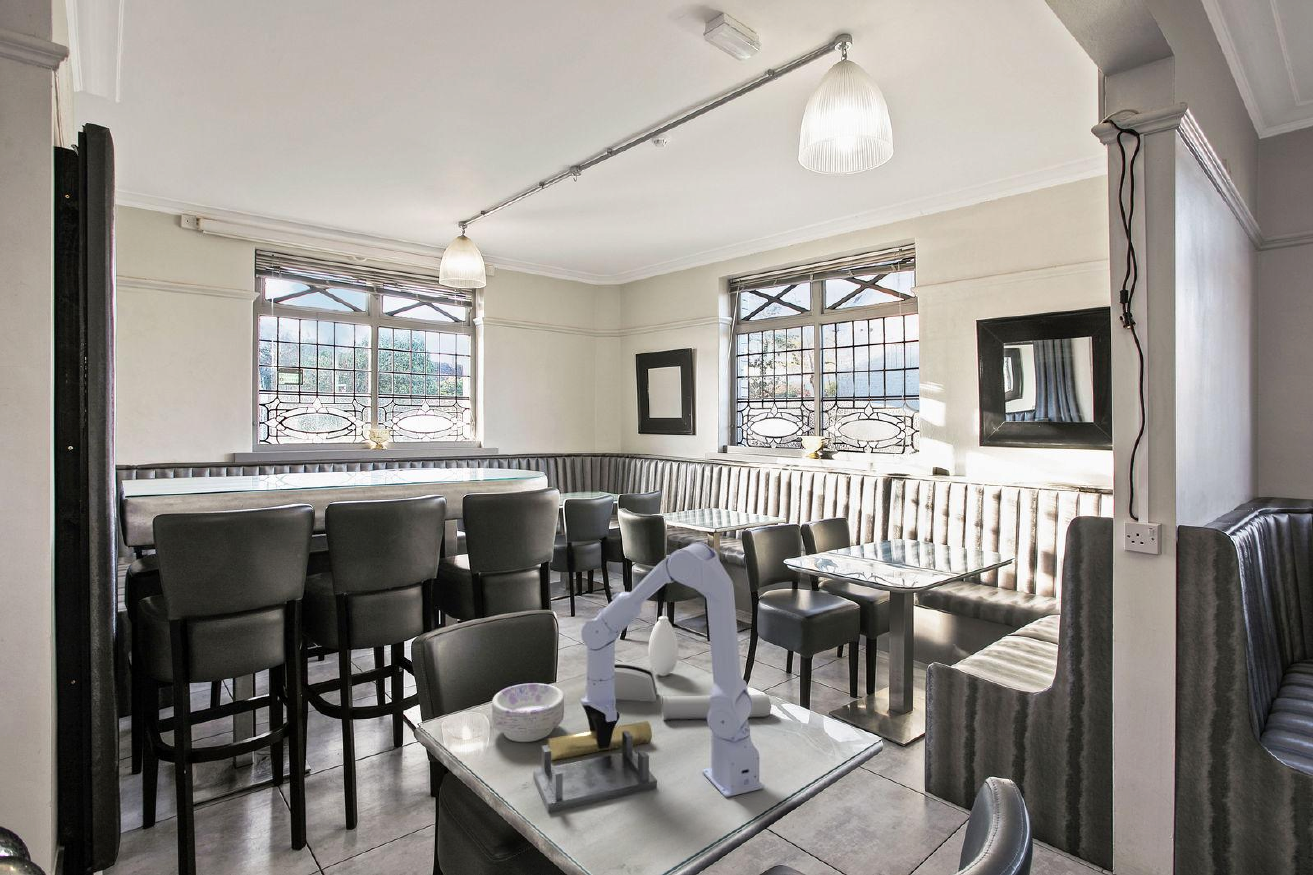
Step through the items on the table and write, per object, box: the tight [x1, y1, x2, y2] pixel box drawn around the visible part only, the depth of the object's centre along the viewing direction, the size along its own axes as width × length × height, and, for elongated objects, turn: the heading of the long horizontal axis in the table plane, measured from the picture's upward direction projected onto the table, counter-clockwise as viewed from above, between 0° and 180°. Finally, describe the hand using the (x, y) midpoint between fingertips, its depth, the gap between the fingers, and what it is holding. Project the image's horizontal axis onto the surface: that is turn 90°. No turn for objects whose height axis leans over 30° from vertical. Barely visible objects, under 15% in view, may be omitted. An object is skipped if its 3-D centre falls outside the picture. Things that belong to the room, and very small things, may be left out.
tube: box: [661, 694, 772, 721], centre depth 151 cm, size 5×5×25 cm
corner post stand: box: [532, 731, 658, 813], centre depth 122 cm, size 12×20×6 cm, turn 113°
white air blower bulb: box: [648, 607, 679, 677], centre depth 176 cm, size 8×8×18 cm
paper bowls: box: [491, 682, 565, 743], centre depth 142 cm, size 15×15×8 cm
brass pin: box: [546, 720, 653, 761], centre depth 135 cm, size 21×4×4 cm, turn 113°
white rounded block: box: [615, 661, 658, 702], centre depth 161 cm, size 17×5×10 cm, turn 81°
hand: (600, 742), depth 135 cm, fingers closed on brass pin, 4 cm apart
